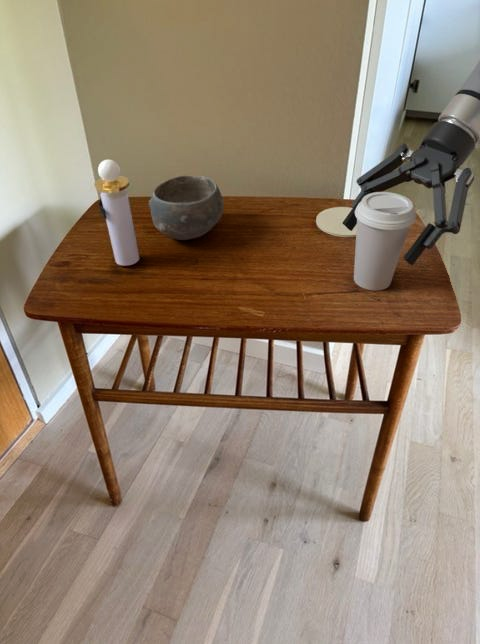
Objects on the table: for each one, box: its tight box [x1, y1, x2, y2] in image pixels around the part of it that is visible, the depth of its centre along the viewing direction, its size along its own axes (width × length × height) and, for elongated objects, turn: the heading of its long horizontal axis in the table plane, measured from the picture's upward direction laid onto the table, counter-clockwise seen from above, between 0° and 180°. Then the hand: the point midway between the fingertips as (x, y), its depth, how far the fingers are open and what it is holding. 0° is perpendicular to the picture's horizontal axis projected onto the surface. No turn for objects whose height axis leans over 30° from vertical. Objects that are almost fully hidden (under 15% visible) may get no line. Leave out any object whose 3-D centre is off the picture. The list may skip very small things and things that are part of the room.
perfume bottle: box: [93, 158, 140, 267], centre depth 86 cm, size 6×6×20 cm
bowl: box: [148, 174, 225, 241], centre depth 97 cm, size 14×15×10 cm
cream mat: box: [315, 206, 357, 239], centre depth 102 cm, size 12×12×1 cm
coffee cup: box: [353, 191, 417, 292], centre depth 81 cm, size 10×10×15 cm
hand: (375, 243), depth 81 cm, fingers open, 13 cm apart
